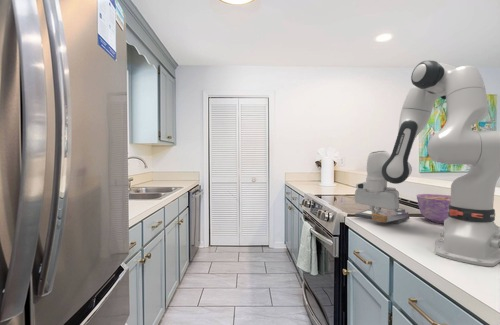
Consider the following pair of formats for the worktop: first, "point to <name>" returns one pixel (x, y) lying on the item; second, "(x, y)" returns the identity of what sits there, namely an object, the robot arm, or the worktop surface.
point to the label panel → (368, 212)
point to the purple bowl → (434, 206)
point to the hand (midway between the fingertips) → (375, 216)
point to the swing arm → (390, 215)
